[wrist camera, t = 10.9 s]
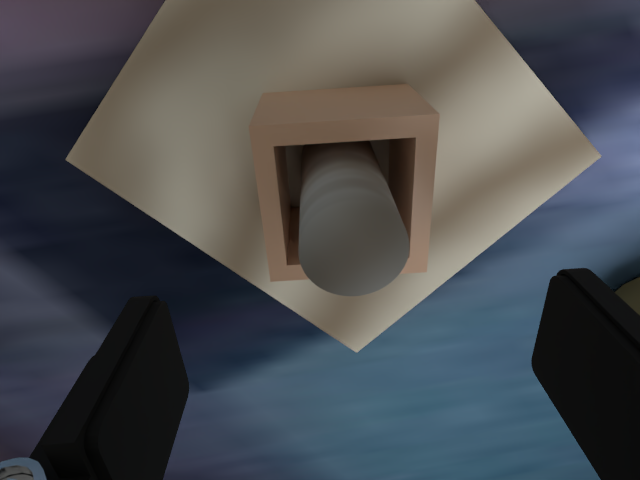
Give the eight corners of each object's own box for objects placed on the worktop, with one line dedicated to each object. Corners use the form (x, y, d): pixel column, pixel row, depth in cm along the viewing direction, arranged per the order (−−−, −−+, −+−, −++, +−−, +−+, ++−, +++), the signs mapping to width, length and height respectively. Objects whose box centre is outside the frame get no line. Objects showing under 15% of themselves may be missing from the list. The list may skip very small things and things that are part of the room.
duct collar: (401, 213, 21) (426, 272, 16) (278, 221, 21) (270, 281, 17) (407, 83, 18) (439, 113, 13) (262, 93, 18) (248, 126, 14)
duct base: (583, 146, 21) (761, 247, 13) (354, 335, 27) (375, 488, 18) (300, -197, 15) (292, -435, 6) (80, 148, 20) (-73, 256, 12)
